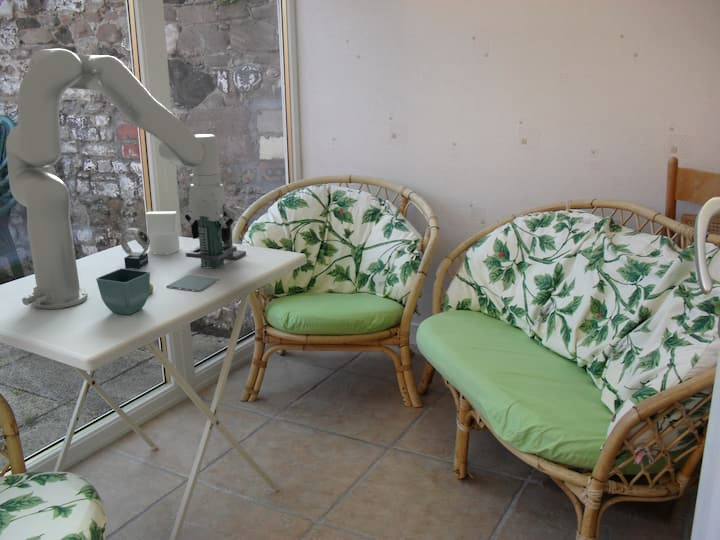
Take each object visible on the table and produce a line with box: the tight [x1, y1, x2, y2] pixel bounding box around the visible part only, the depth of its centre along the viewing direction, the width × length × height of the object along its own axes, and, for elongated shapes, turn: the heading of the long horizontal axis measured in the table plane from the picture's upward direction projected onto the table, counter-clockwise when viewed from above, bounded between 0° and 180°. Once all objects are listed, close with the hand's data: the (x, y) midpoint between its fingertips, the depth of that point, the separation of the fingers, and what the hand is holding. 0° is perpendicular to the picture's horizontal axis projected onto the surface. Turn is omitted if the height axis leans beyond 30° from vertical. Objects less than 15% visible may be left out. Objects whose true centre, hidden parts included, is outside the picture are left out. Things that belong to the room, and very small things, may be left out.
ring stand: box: [185, 214, 247, 261], centre depth 192 cm, size 18×10×14 cm, turn 160°
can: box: [198, 216, 225, 269], centre depth 189 cm, size 6×6×15 cm
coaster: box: [166, 274, 221, 292], centre depth 175 cm, size 10×10×1 cm
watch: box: [119, 227, 150, 270], centre depth 188 cm, size 6×8×11 cm
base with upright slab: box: [145, 210, 180, 255], centre depth 203 cm, size 9×9×12 cm
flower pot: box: [95, 268, 151, 316], centre depth 156 cm, size 9×9×9 cm
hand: (211, 239), depth 189 cm, fingers open, 9 cm apart
